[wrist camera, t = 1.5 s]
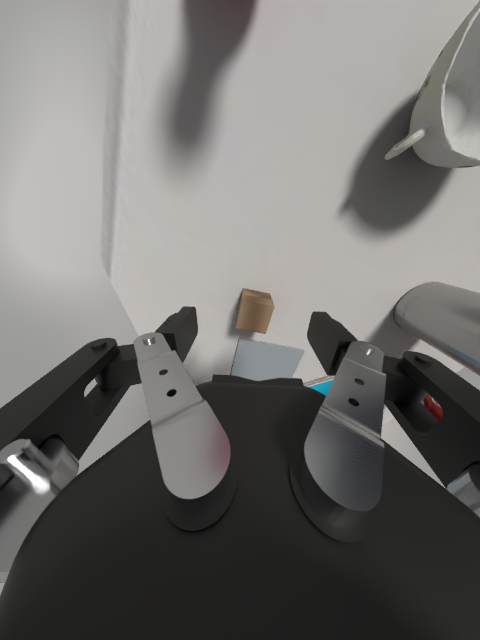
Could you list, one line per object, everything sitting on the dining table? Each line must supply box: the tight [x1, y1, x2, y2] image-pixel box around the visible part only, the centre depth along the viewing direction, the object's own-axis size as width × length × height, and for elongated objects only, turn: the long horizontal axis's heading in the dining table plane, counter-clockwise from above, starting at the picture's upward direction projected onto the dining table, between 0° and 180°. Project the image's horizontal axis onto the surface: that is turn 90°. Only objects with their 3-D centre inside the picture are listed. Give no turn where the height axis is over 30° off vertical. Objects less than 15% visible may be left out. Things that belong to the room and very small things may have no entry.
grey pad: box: [231, 338, 304, 381], centre depth 39 cm, size 14×14×1 cm
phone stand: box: [303, 376, 335, 396], centre depth 42 cm, size 20×12×2 cm, turn 117°
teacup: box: [385, 1, 480, 168], centre depth 17 cm, size 15×12×8 cm
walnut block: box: [236, 288, 274, 334], centre depth 30 cm, size 5×5×6 cm
